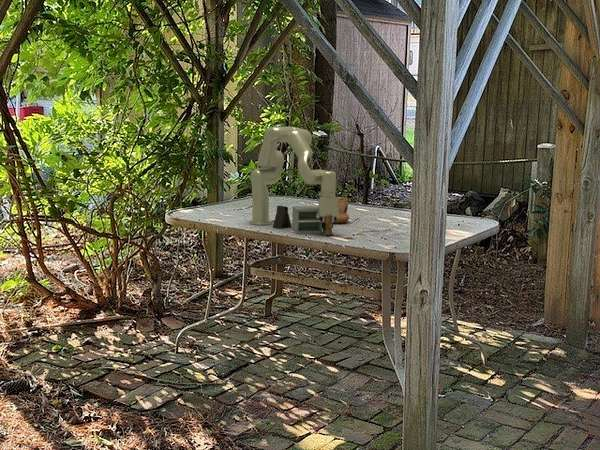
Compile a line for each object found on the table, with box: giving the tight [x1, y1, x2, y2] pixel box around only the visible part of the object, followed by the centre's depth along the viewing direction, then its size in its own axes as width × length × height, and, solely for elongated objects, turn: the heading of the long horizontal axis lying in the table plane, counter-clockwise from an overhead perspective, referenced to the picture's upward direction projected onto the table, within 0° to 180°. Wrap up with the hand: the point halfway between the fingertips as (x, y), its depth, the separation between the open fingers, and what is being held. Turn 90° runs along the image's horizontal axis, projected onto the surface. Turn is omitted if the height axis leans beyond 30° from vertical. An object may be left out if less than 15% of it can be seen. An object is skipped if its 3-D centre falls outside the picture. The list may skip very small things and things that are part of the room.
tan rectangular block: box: [322, 215, 334, 236], centre depth 401 cm, size 4×8×10 cm, turn 11°
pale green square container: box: [291, 205, 335, 237], centre depth 407 cm, size 22×18×13 cm
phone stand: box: [272, 205, 292, 230], centre depth 424 cm, size 9×6×12 cm, turn 135°
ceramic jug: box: [333, 196, 350, 225], centre depth 444 cm, size 18×14×14 cm
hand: (327, 229), depth 402 cm, fingers closed on tan rectangular block, 3 cm apart
